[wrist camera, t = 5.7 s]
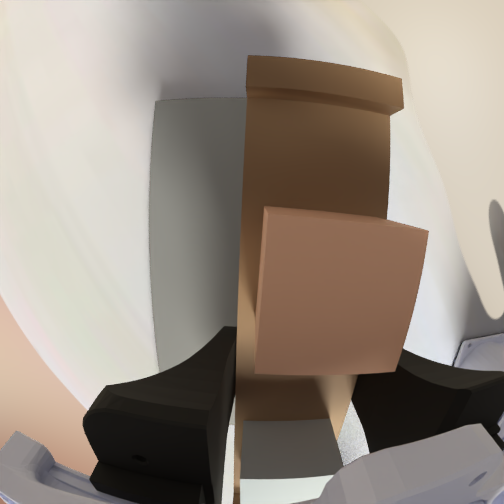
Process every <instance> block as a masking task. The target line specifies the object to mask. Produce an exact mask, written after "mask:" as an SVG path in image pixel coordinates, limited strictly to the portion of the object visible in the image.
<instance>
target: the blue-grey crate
mask: <svg viewBox="0 0 504 504" xmlns="http://www.w3.org/2000/svg"><path fill="white" fill-rule="evenodd" d="M342 467H344V466H343V462H342V458H341V455H340V451H339V448H338V444H337V441H336V437H335V434H334V430H333V427H332V423H331V420H330V418H328V419H315V420H296V421H243V436H242V453H241V470H240V504H291V503H296V502H301V501H306V500H311V499H316V498H319V497H320V495H321V493H322V491H323V489H324V487H325V485H326V483H327V482H328V481H329V480H330V479H331V478H332V477H333V476H334V475H335V474H336V473H337V472H338V471H339V470H340V469H341V468H342Z"/></svg>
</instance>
